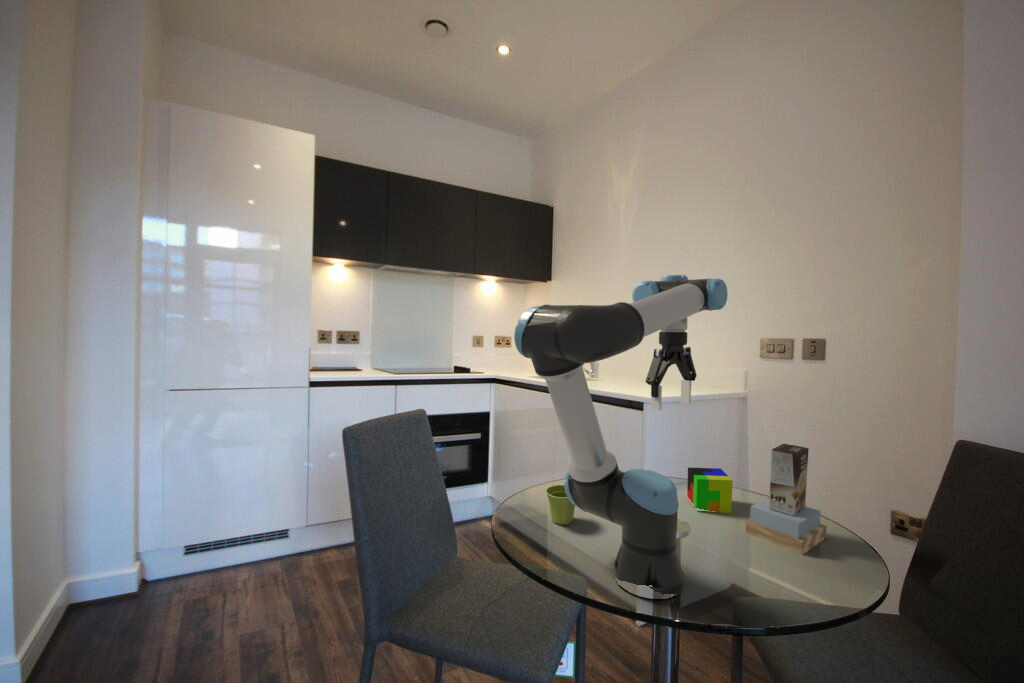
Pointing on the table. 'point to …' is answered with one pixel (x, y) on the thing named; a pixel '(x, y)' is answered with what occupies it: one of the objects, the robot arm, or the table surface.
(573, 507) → the plant pot
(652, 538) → the robot arm
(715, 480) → the puzzle toy
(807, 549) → the oak base slab
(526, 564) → the table surface
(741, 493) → the table surface
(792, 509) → the coffee box
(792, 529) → the slate-blue top slab
